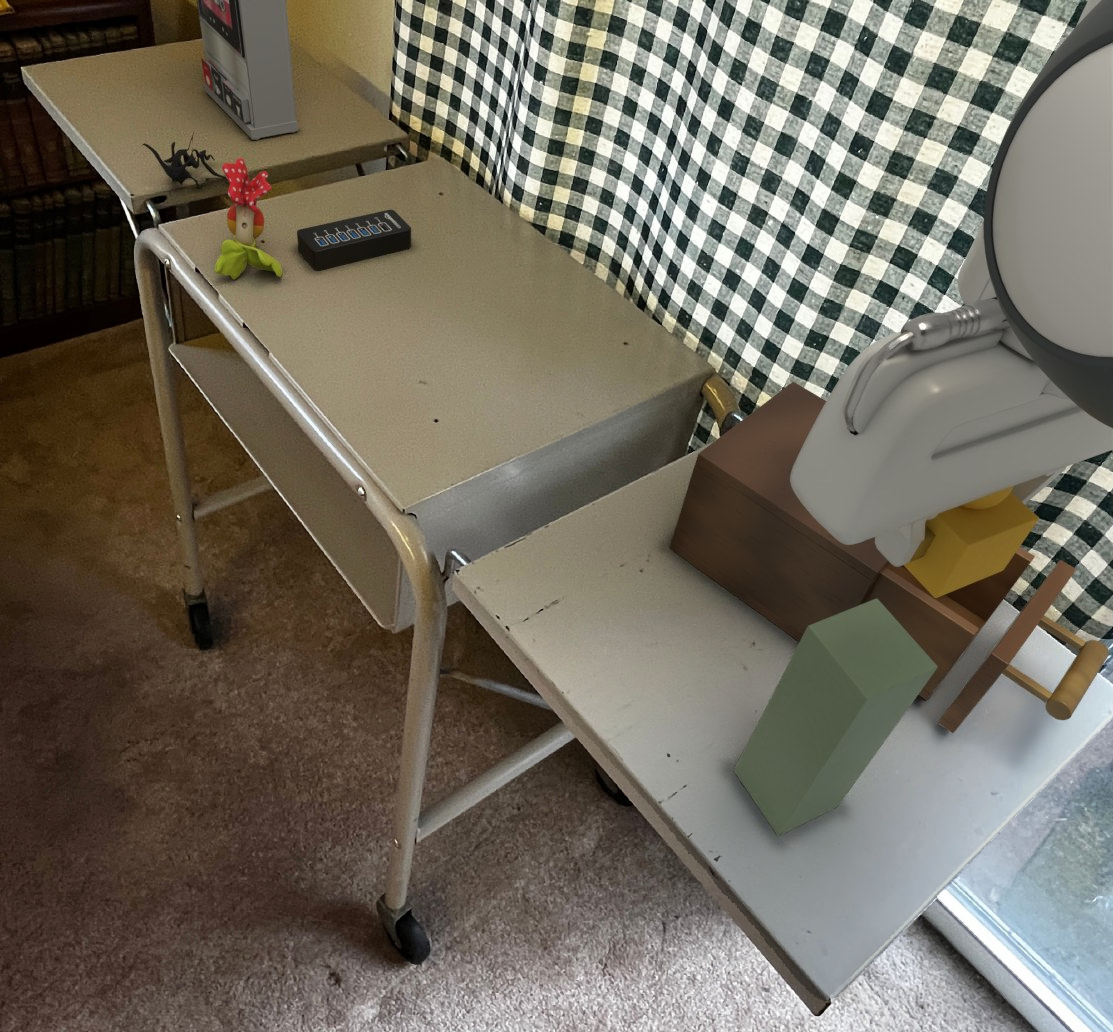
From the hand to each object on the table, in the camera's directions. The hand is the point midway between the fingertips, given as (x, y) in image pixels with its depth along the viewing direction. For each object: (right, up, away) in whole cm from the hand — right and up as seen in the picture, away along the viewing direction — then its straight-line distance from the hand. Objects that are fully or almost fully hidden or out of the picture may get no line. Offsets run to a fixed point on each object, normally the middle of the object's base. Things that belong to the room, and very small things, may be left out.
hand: (942, 535), depth 44 cm
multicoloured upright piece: (-49, +26, +51) cm, 75 cm away
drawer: (+10, -9, +26) cm, 30 cm away
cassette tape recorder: (-55, +50, +73) cm, 104 cm away
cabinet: (+1, -3, +32) cm, 32 cm away
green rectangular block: (-3, -17, +18) cm, 25 cm away
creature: (-58, +38, +61) cm, 92 cm away
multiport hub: (-39, +29, +55) cm, 73 cm away
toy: (0, -1, +1) cm, 1 cm away
